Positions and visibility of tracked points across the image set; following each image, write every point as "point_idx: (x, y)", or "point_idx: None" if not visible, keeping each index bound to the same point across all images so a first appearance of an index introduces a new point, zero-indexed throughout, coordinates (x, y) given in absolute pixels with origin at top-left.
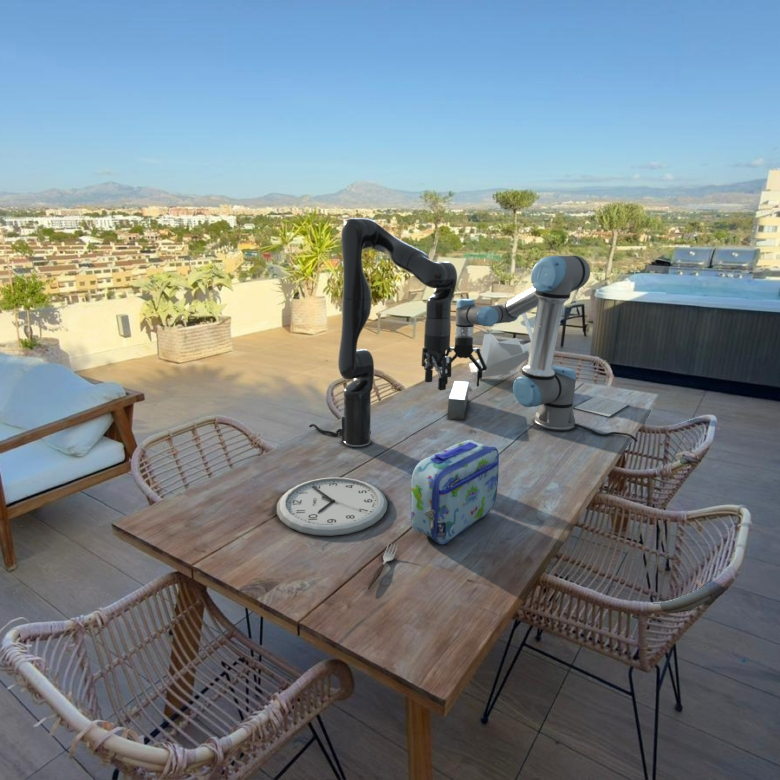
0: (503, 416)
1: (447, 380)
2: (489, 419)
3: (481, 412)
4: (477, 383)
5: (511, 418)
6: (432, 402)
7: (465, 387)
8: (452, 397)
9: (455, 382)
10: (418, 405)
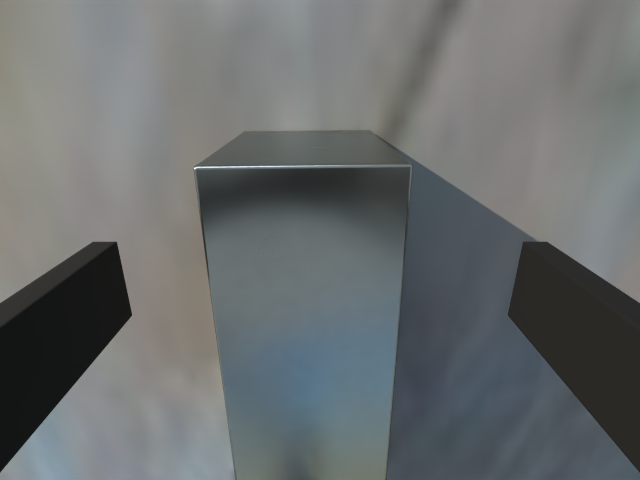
0: None
1: (99, 282)
2: (498, 446)
3: (464, 362)
4: (533, 337)
5: None
6: None
7: (370, 401)
8: None
9: (222, 244)
10: None
